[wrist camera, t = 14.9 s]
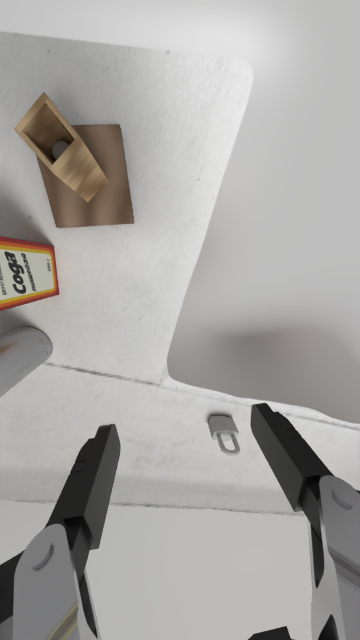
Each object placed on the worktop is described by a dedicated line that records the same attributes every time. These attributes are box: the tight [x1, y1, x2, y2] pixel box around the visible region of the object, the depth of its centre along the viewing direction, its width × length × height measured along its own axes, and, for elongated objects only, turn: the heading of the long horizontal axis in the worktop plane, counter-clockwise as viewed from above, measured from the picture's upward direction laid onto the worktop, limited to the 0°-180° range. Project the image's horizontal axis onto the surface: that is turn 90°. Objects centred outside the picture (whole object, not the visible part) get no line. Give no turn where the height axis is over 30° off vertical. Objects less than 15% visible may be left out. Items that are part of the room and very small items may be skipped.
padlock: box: [208, 416, 240, 456], centre depth 46 cm, size 7×4×10 cm, turn 80°
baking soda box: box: [0, 236, 59, 311], centre depth 26 cm, size 10×6×16 cm
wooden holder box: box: [14, 92, 108, 202], centre depth 24 cm, size 5×5×10 cm
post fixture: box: [36, 124, 134, 228], centre depth 26 cm, size 14×14×8 cm
